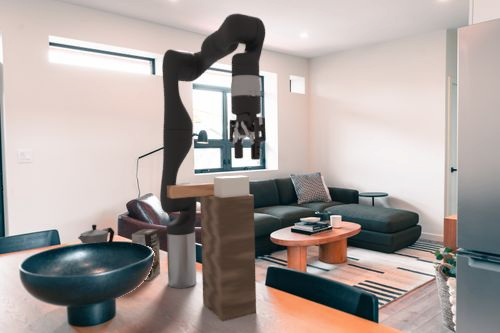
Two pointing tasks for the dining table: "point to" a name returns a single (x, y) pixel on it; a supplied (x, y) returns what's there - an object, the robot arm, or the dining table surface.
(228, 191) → the block
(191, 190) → the bar
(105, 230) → the coffeepot
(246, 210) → the stand
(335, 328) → the dining table surface
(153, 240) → the coffee box
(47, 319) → the dining table surface
